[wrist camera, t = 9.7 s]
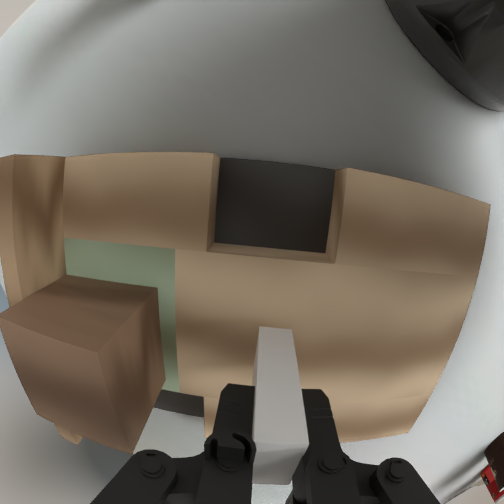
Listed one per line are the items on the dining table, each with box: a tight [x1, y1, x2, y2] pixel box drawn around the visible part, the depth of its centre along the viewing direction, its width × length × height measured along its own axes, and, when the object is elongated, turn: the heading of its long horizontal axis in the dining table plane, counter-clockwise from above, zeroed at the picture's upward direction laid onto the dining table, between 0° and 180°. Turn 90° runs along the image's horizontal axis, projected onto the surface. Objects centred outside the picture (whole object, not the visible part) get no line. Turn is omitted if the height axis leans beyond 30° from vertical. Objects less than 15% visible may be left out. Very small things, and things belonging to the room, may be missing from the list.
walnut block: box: [0, 275, 166, 454], centre depth 11 cm, size 6×6×6 cm
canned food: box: [481, 465, 504, 503], centre depth 19 cm, size 8×8×11 cm
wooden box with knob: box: [0, 152, 490, 445], centre depth 13 cm, size 18×26×6 cm
